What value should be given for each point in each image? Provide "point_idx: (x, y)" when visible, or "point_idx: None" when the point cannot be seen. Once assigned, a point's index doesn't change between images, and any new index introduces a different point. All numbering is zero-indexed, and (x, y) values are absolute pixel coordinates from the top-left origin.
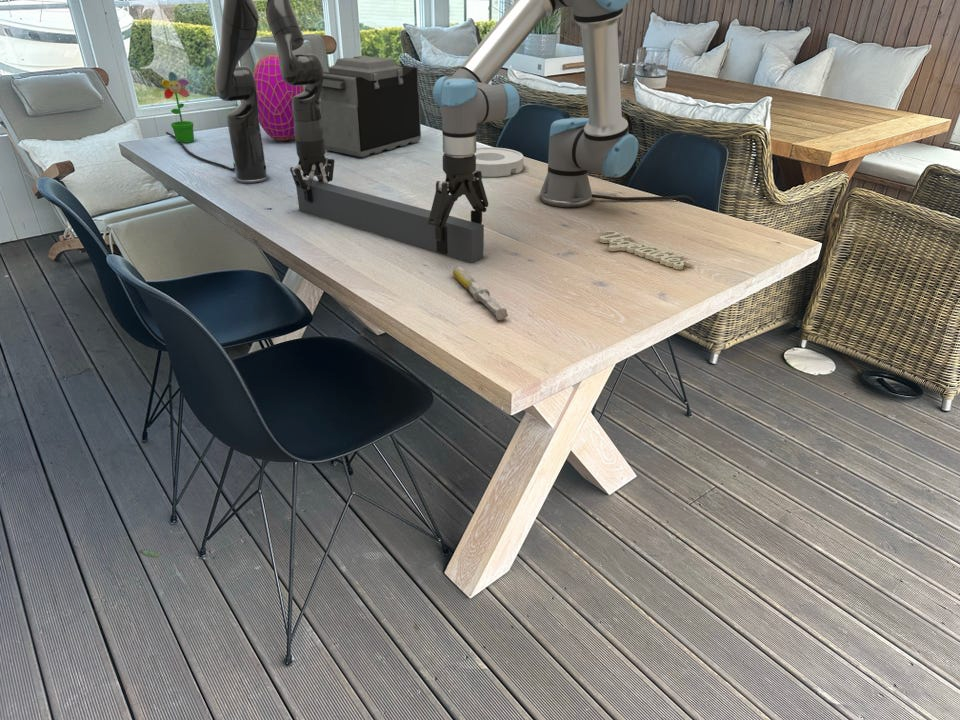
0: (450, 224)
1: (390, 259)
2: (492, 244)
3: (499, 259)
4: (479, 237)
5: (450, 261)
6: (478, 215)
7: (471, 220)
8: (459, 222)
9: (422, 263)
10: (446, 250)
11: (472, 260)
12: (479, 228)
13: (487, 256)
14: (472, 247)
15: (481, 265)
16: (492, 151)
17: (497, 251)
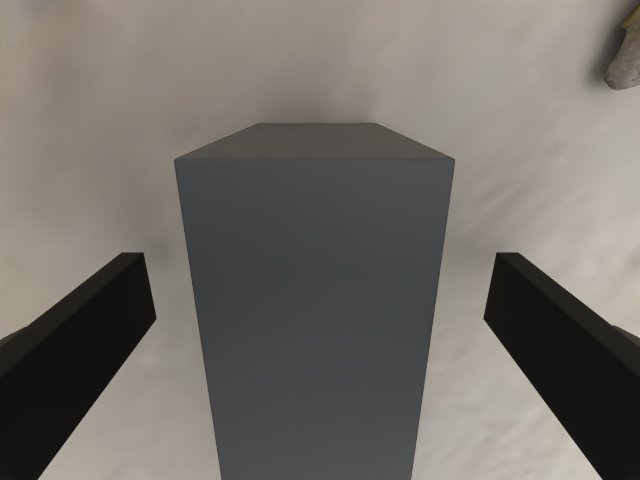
0: (414, 441)
1: (545, 442)
2: (54, 213)
3: (203, 9)
4: (290, 139)
5: None
6: (9, 390)
7: (88, 403)
8: (320, 413)
9: None
10: (521, 263)
11: (374, 124)
12: (281, 154)
13: (221, 115)
14: (394, 132)
15: (369, 47)
16: None
17: (109, 116)
